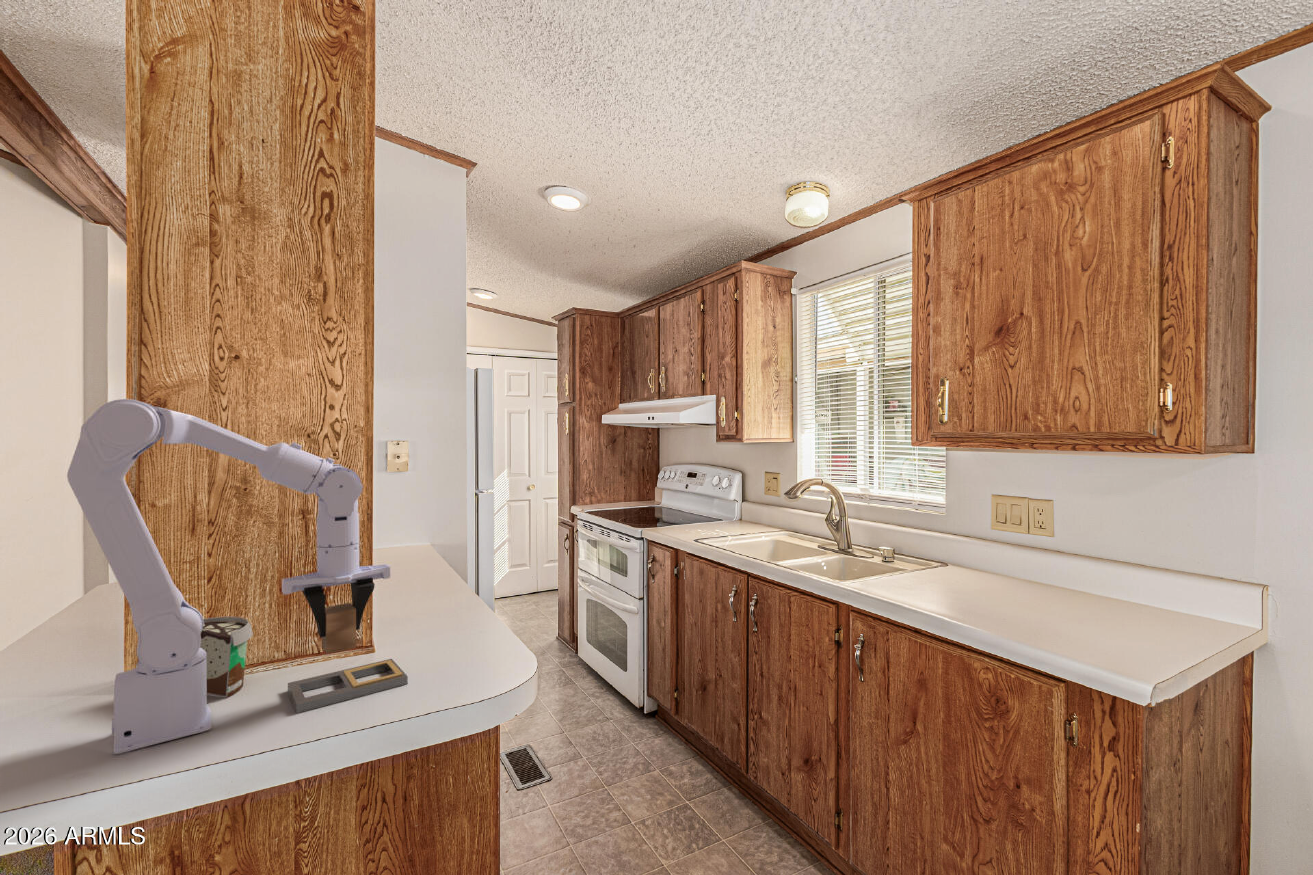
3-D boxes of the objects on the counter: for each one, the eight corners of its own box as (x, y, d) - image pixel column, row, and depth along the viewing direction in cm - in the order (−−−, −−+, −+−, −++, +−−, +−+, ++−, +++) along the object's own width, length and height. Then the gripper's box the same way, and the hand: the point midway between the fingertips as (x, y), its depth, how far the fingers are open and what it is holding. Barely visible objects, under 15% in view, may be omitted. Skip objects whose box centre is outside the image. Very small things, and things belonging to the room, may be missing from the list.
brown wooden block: (326, 654, 85) (326, 614, 85) (321, 646, 89) (321, 607, 88) (356, 647, 88) (356, 608, 88) (350, 640, 91) (350, 602, 91)
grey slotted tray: (296, 713, 81) (296, 703, 81) (287, 690, 88) (287, 681, 88) (407, 683, 91) (407, 674, 91) (391, 665, 97) (391, 657, 97)
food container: (272, 682, 91) (272, 619, 91) (234, 699, 85) (234, 632, 85) (213, 672, 94) (213, 612, 94) (173, 688, 88) (173, 624, 88)
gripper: (286, 554, 80) (287, 650, 81) (395, 541, 90) (396, 627, 90) (279, 546, 86) (280, 636, 86) (383, 535, 95) (384, 616, 95)
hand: (339, 631), depth 88 cm, fingers closed on brown wooden block, 4 cm apart
